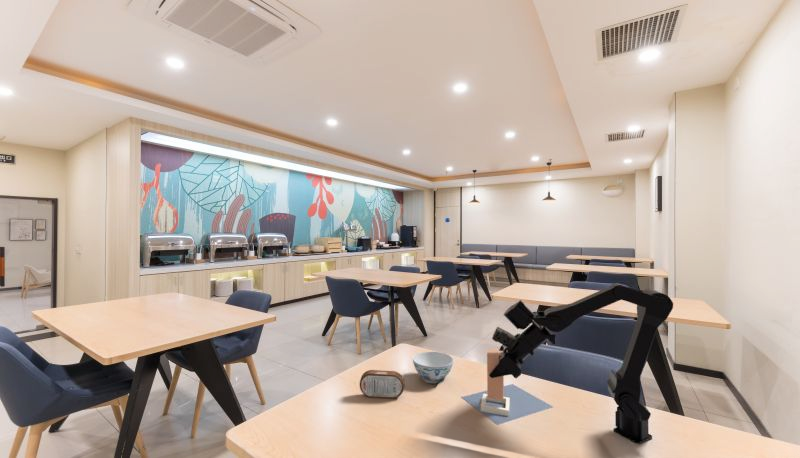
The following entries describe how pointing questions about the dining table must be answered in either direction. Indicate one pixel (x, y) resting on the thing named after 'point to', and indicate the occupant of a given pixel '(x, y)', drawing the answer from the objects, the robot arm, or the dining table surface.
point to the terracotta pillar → (495, 384)
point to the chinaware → (432, 365)
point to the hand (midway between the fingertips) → (490, 373)
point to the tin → (382, 384)
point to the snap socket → (492, 408)
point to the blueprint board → (519, 404)
